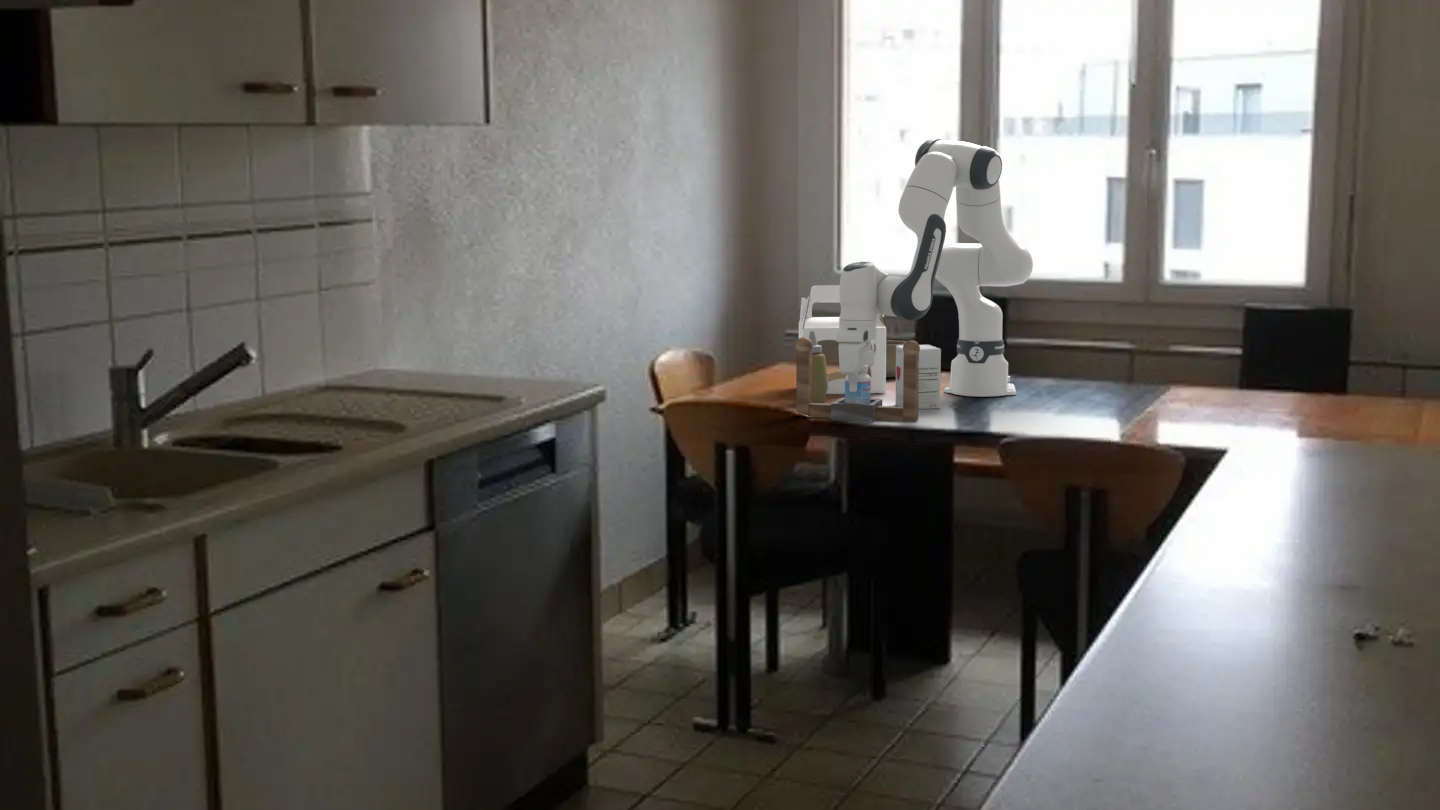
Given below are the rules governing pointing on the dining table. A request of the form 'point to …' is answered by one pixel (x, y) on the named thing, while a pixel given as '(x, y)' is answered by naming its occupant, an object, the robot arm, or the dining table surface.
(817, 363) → the squeeze bottle
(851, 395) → the pill bottle
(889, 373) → the bowl
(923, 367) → the supplement box
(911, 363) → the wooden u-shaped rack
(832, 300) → the gable box
